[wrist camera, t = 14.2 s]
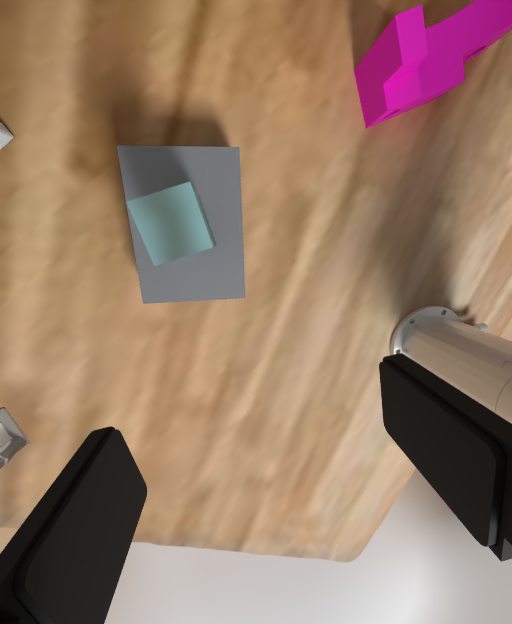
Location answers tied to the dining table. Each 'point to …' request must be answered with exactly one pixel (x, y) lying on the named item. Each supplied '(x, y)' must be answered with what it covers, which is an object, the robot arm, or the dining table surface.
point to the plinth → (219, 210)
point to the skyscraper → (9, 437)
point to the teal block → (172, 223)
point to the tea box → (4, 136)
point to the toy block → (425, 57)
